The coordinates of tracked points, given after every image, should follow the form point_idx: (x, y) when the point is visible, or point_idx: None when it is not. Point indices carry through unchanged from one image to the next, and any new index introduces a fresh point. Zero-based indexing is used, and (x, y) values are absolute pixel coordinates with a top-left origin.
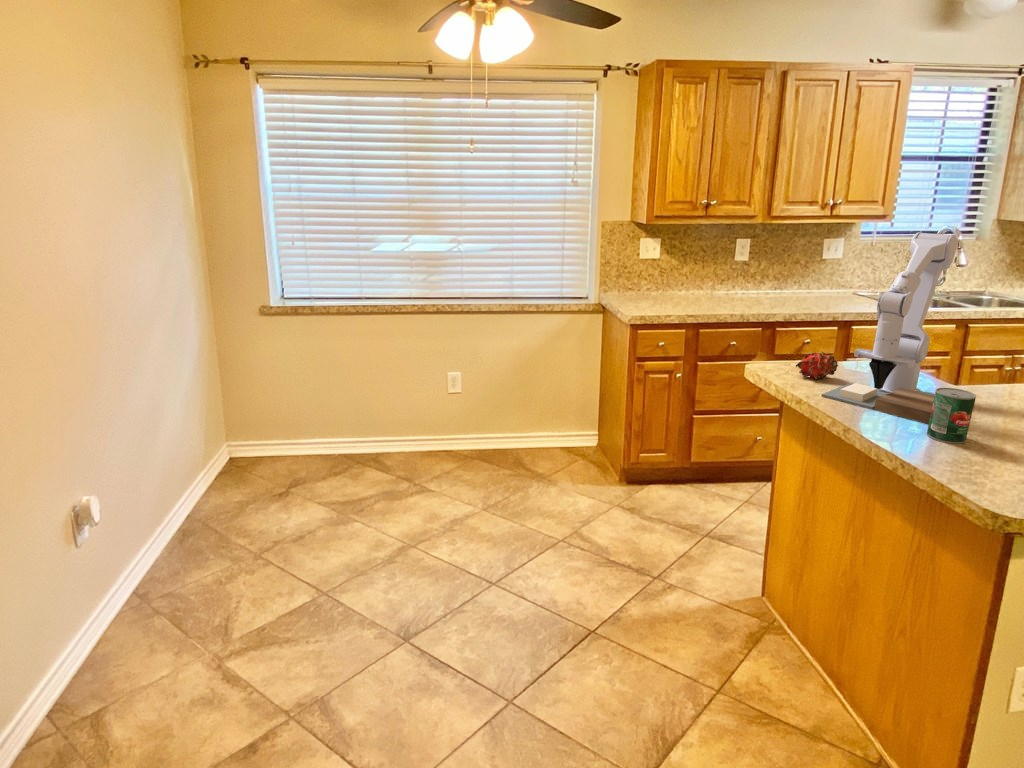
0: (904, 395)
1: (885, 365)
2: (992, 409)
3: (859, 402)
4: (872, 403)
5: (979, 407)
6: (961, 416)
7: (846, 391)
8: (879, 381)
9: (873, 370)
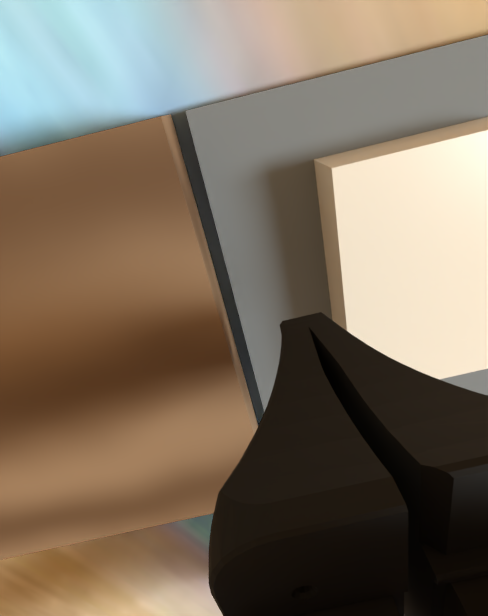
0: (152, 409)
1: (271, 536)
2: (14, 604)
3: (313, 123)
4: (248, 201)
5: (46, 589)
6: None
7: (477, 130)
8: (299, 351)
9: (430, 393)
